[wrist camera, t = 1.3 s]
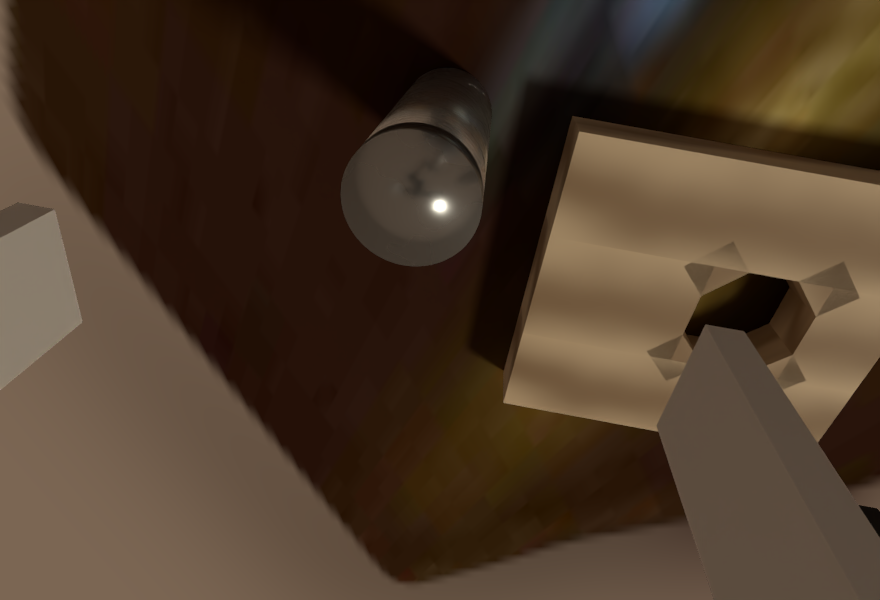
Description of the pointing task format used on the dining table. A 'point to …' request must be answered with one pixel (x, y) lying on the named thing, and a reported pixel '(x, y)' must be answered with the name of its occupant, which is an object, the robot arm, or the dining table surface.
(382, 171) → the grey metallic cylinder
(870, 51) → the dining table surface
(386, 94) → the dining table surface
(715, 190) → the jig
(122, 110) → the dining table surface
